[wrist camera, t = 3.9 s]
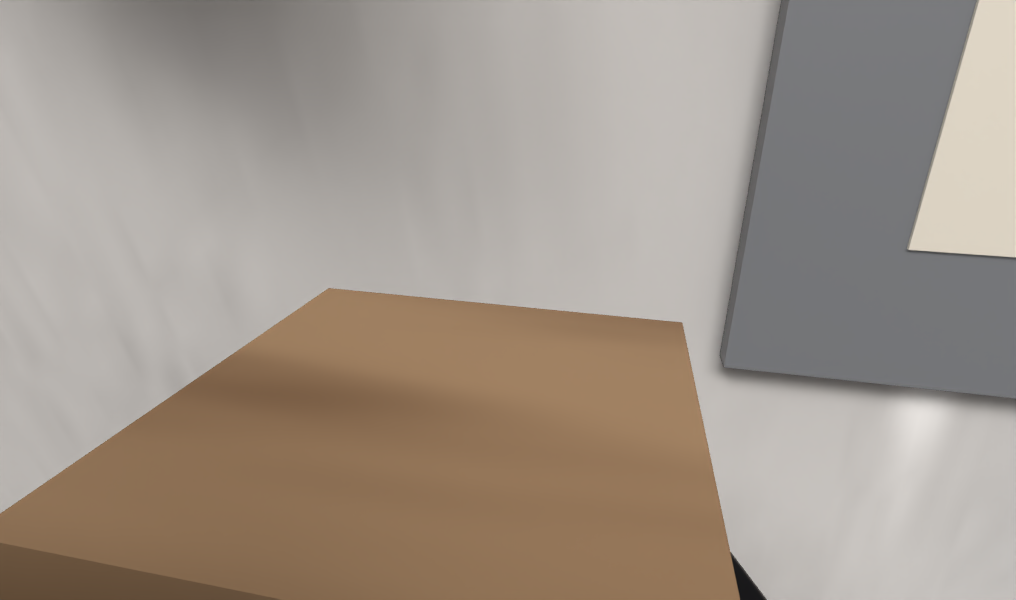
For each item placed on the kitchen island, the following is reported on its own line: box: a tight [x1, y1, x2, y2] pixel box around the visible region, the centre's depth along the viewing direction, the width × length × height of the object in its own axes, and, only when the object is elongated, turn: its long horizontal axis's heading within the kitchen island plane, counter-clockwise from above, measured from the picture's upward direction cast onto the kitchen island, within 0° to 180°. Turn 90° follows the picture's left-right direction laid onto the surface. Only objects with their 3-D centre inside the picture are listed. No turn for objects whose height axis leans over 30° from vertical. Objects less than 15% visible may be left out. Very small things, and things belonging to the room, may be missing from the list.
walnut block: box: [0, 288, 740, 600], centre depth 7 cm, size 5×5×5 cm
